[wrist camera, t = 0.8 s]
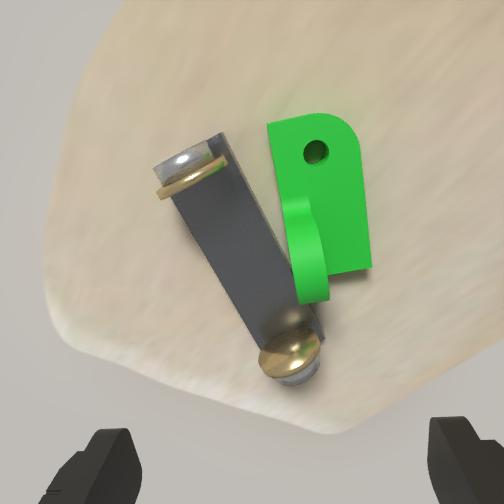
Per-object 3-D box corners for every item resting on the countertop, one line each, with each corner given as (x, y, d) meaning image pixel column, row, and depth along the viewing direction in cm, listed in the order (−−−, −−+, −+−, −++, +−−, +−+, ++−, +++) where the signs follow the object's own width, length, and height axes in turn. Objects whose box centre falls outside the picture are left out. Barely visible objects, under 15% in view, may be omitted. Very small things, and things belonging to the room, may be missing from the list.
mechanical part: (365, 258, 29) (398, 306, 22) (294, 270, 30) (301, 321, 23) (349, 105, 25) (382, 100, 18) (267, 123, 26) (265, 126, 19)
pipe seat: (222, 132, 26) (209, 136, 21) (323, 331, 32) (334, 376, 26) (159, 166, 27) (130, 179, 22) (267, 352, 33) (266, 401, 27)
